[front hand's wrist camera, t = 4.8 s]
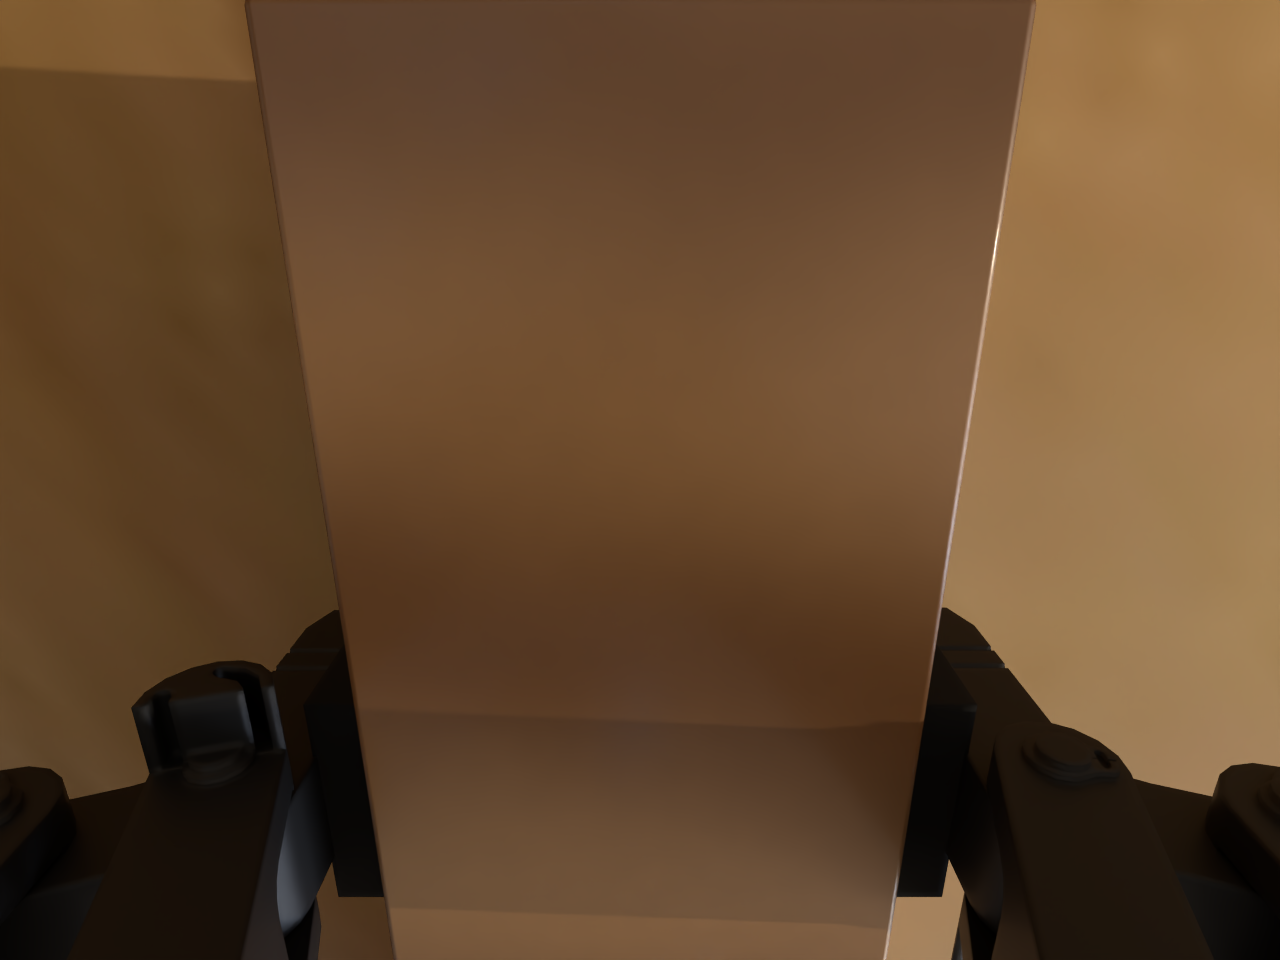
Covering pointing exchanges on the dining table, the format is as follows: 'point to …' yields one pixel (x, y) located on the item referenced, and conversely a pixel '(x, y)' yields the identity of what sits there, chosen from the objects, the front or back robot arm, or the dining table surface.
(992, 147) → the beam
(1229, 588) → the dining table surface
